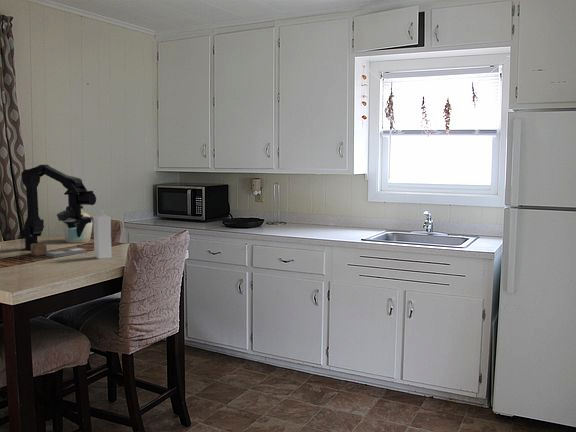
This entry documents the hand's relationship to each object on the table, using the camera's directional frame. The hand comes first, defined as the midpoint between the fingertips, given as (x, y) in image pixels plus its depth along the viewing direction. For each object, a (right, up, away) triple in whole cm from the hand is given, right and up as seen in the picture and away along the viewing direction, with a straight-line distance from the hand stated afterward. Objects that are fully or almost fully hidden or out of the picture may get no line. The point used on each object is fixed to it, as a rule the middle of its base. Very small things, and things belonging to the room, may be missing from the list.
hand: (75, 236), depth 276 cm
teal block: (0, -1, 0) cm, 1 cm away
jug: (-12, -4, +35) cm, 37 cm away
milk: (+17, -10, -10) cm, 22 cm away
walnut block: (-16, -8, -4) cm, 19 cm away
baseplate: (-3, -8, -3) cm, 9 cm away
